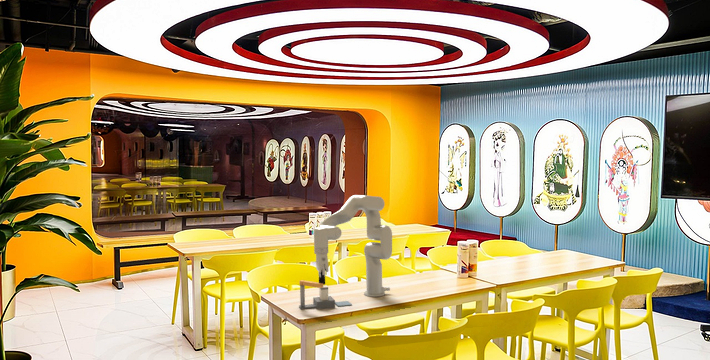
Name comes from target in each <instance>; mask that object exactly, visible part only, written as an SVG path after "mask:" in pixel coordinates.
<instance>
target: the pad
mask: <svg viewBox="0 0 710 360" xmlns="http://www.w3.org/2000/svg"><path fill="white" fill-rule="evenodd" d="M335 306H337V307H338V308H339V307H350V306H353V304H352V303H351V302H350V301H349V300H345V301H344V300H343V301H335Z"/></svg>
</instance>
